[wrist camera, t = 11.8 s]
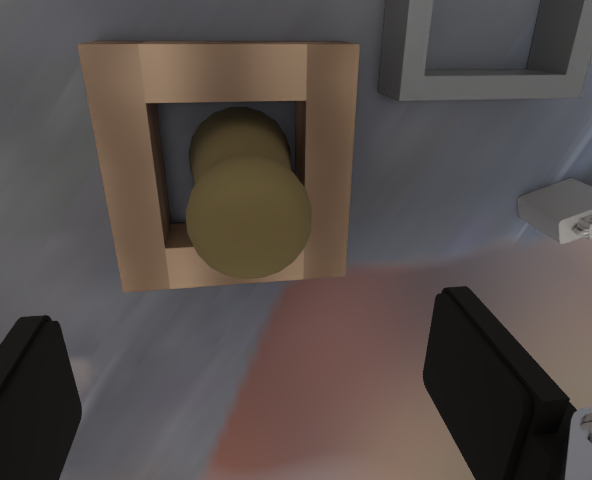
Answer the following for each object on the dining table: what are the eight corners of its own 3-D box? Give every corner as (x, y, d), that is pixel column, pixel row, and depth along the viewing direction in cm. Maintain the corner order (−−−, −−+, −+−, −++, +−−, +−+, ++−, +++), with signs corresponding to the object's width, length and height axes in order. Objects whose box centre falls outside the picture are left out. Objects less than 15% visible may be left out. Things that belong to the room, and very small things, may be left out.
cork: (192, 99, 25) (175, 148, 15) (298, 114, 26) (344, 168, 17) (185, 200, 28) (167, 298, 18) (282, 210, 29) (314, 306, 19)
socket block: (342, 41, 25) (359, 44, 22) (332, 250, 31) (345, 276, 28) (96, 41, 23) (77, 43, 20) (133, 263, 29) (123, 292, 26)
